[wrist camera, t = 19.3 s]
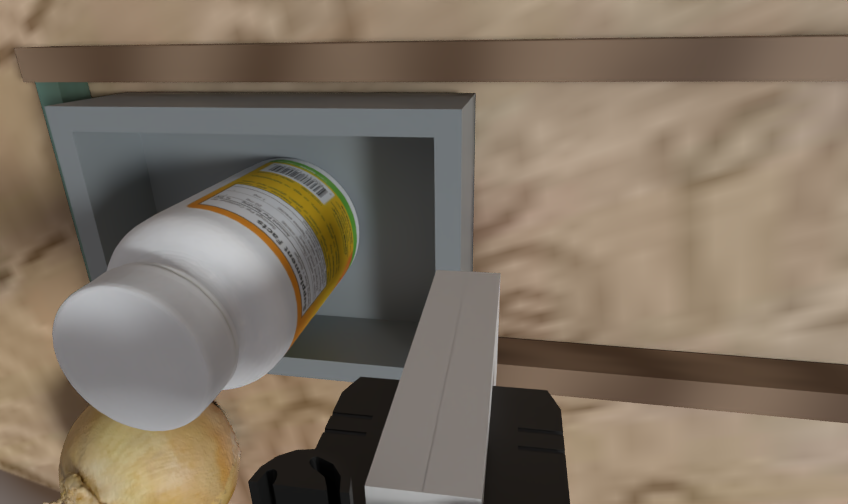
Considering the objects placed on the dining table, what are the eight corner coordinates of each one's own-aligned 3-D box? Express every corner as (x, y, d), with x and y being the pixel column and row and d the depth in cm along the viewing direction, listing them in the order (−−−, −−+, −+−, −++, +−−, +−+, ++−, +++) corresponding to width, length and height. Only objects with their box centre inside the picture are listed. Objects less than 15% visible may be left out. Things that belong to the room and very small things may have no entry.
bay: (128, 329, 27) (99, 351, 25) (56, 46, 22) (14, 48, 20) (847, 391, 21) (876, 425, 20) (966, 33, 16) (1020, 34, 15)
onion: (282, 411, 27) (204, 530, 21) (230, 505, 31) (149, 633, 24) (139, 331, 27) (16, 427, 21) (103, 434, 30) (-13, 545, 24)
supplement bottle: (260, 295, 23) (89, 465, 14) (210, 172, 21) (-20, 278, 12) (380, 274, 22) (273, 448, 13) (337, 140, 20) (179, 234, 11)
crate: (173, 310, 25) (113, 358, 21) (127, 92, 21) (44, 106, 18) (471, 333, 23) (459, 392, 19) (475, 93, 19) (461, 109, 15)
